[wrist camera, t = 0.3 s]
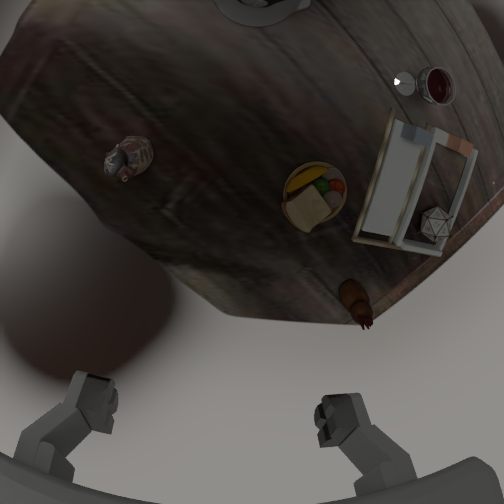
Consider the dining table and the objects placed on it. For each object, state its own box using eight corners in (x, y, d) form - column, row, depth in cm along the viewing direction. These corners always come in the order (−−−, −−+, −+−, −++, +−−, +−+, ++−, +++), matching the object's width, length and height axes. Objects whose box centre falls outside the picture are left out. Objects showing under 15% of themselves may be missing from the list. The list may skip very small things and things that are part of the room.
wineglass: (412, 64, 43) (449, 63, 33) (422, 95, 46) (459, 101, 36) (386, 71, 44) (420, 70, 34) (397, 103, 47) (432, 110, 37)
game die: (425, 211, 63) (455, 236, 58) (405, 232, 62) (437, 260, 57) (432, 188, 56) (467, 215, 51) (412, 210, 55) (448, 240, 50)
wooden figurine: (331, 287, 68) (350, 333, 55) (349, 271, 66) (373, 314, 53) (347, 301, 70) (368, 345, 57) (365, 286, 68) (389, 328, 55)
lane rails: (390, 107, 48) (393, 108, 47) (475, 148, 52) (479, 149, 50) (351, 238, 62) (353, 241, 61) (436, 254, 65) (439, 257, 64)
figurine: (137, 126, 48) (112, 136, 37) (162, 153, 51) (144, 170, 40) (111, 153, 49) (84, 169, 39) (136, 179, 52) (114, 201, 42)
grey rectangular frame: (430, 125, 49) (445, 129, 45) (473, 147, 51) (487, 152, 47) (392, 241, 62) (402, 252, 58) (436, 249, 64) (446, 260, 60)
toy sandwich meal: (354, 202, 58) (363, 211, 54) (296, 234, 61) (301, 245, 57) (328, 148, 52) (336, 153, 48) (265, 183, 55) (268, 191, 51)
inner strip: (393, 118, 49) (409, 123, 44) (423, 131, 50) (439, 136, 45) (360, 228, 60) (371, 242, 55) (389, 234, 61) (401, 247, 56)
